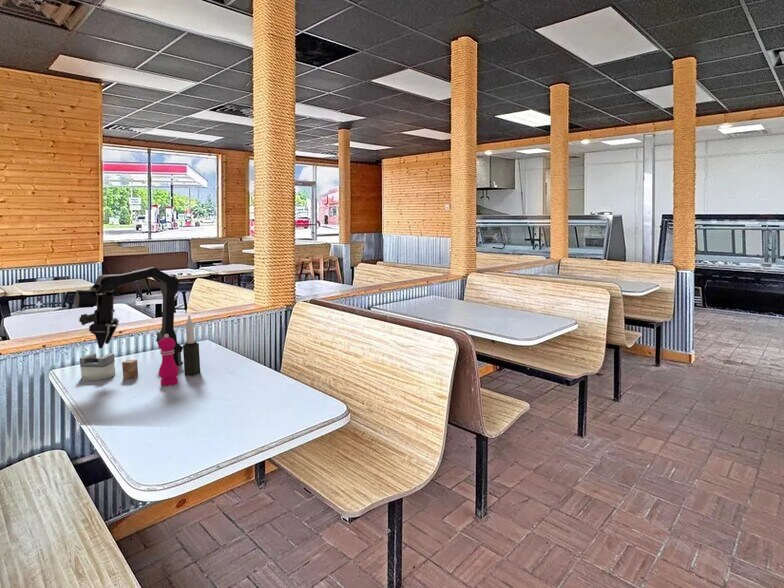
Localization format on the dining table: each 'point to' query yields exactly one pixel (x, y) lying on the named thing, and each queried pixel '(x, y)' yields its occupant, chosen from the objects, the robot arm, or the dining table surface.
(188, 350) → the candle
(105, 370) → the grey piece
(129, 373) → the brown block
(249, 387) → the dining table surface
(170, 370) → the pepper mill
